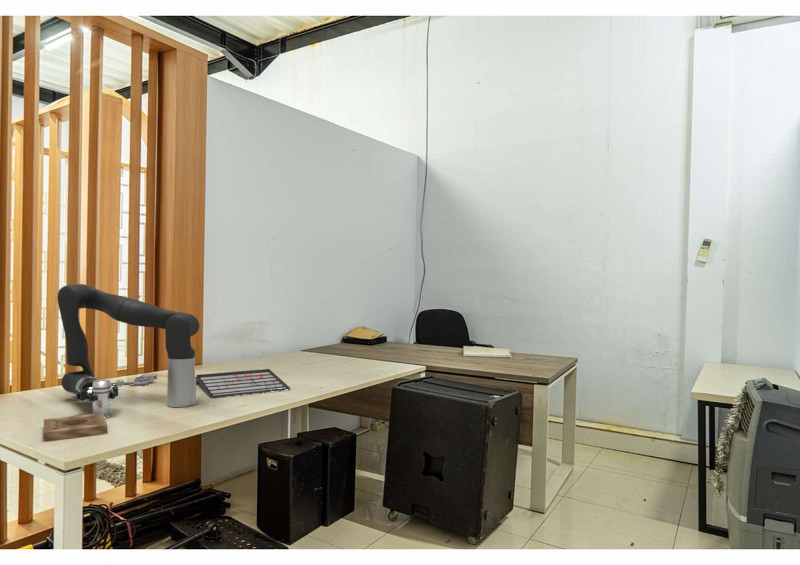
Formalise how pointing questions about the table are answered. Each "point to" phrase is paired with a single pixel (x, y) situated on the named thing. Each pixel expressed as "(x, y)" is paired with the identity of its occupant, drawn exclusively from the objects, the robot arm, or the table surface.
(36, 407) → the table surface
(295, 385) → the table surface
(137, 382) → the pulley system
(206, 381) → the shutter
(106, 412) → the salt shaker
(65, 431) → the ring block
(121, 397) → the table surface
